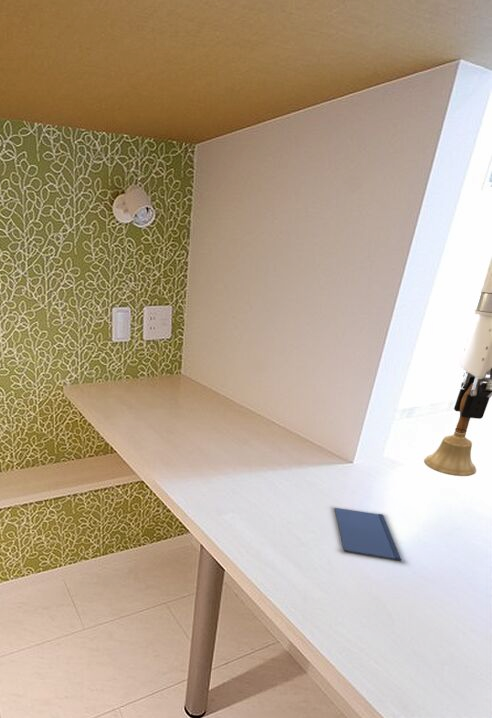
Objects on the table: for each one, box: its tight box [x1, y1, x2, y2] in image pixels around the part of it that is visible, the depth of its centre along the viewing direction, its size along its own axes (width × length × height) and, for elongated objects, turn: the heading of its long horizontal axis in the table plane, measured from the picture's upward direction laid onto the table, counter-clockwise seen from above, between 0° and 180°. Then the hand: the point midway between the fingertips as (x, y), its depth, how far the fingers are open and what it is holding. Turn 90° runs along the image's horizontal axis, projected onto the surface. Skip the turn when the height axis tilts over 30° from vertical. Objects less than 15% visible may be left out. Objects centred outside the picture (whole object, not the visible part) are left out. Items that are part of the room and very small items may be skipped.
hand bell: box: [423, 383, 477, 477], centre depth 78 cm, size 8×8×16 cm
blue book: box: [334, 507, 402, 562], centre depth 90 cm, size 10×16×1 cm, turn 164°
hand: (467, 413), depth 77 cm, fingers closed on hand bell, 2 cm apart
